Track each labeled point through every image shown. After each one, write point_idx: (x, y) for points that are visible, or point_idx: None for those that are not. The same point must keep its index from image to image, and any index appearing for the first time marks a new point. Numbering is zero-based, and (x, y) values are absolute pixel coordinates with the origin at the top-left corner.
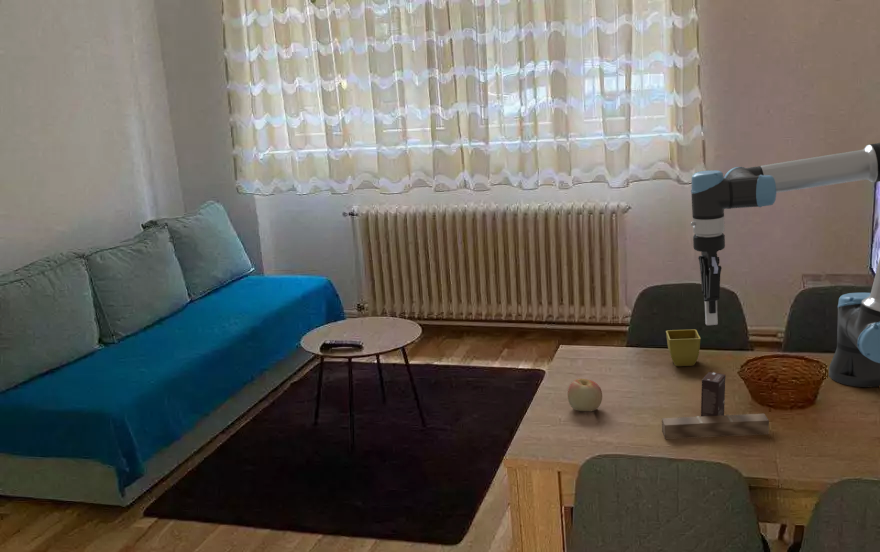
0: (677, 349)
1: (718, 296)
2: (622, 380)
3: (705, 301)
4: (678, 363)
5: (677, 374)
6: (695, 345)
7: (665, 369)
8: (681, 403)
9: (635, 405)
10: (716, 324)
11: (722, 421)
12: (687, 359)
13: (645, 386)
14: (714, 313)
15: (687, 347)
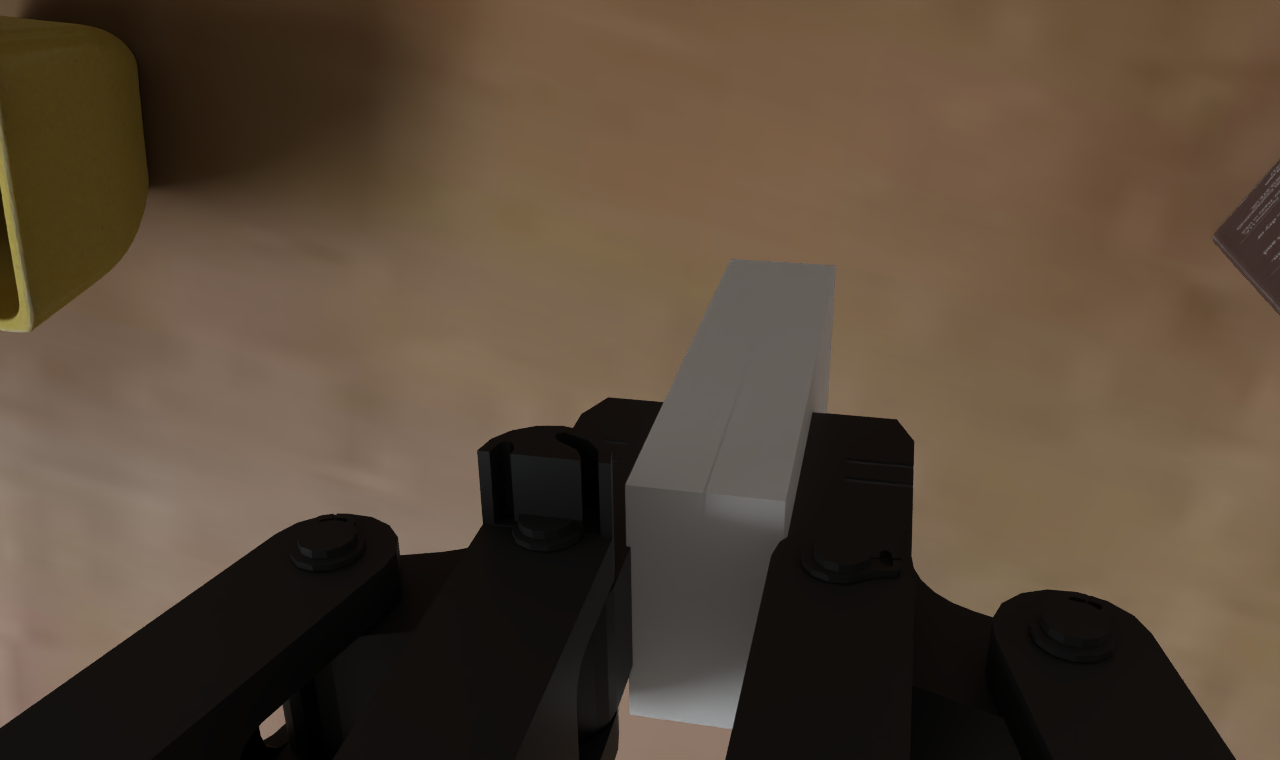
0: (83, 232)
1: (1181, 714)
2: None
3: (715, 702)
4: (143, 182)
5: (304, 220)
6: (41, 76)
7: (203, 279)
8: (883, 351)
9: None
10: (833, 285)
11: None
12: (124, 120)
13: None
14: (814, 403)
15: (62, 148)
